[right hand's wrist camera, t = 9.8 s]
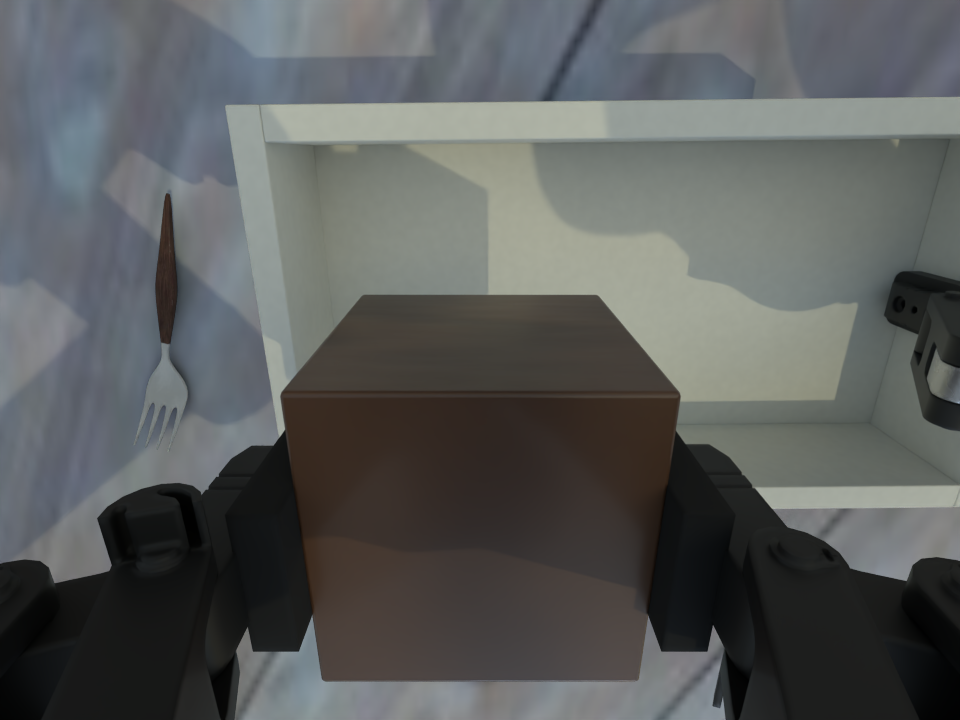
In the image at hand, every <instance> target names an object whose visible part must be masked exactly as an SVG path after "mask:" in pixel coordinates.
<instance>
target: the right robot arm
mask: <svg viewBox="0 0 960 720" xmlns="http://www.w3.org/2000/svg"><path fill="white" fill-rule="evenodd" d="M97 519H98V522H99V526H100V529H101V532H102V535H103V538H104V542H105V545H106V548H107V551H108V554H109V558H110V561H111V564H112V566H111V569H110V571H108V572H104V573H101V574H96V575H92V576H87V577H82V578H78V579H73V580H68V581H64V582H59V583H54V581H53V578H52V575H51V573H50V570H49V567H47V566H46V565H45V564H43V563H42V562H41V561H34V560H18V561H12V562H6V563H2V564H0V720H234V719H235V710H236V701H237V693H238V684H239V676H240V670H239V663H238V658H237V653H236V649H237V647H238V645H239V643H240V641H241V639H242V637H243V635H244V633H245V631H246V629H247V627H248V630H249V634H250V639H251V644H252V649H253V652H299V650H300V647H301V644H302V641H303V639H304V636H305V633H306V631H307V628H308V625H309V622H310V620H311V617H312V608H311V601H310V595H309V588H308V581H307V574H306V568H305V561H304V554H303V547H302V541H301V534H300V527H299V520H298V514H297V507H296V500H295V493H294V487H293V480H292V473H291V466H290V460H289V453H288V446H287V439H286V433H285V430H284V432H283V433H282V435H281V436H280V437H279V439H278V440H277V442H276V443H275V445H274V446H251V447H249V448H247V449H246V450H244V451H243V452H241V453H240V454H238V455H236V456H235V457H233V458H232V459H231V460H230V461H229V462H228V463H227V465H226V466H225V467H224V468H223V470H222V471H221V472H220V473H219V477H216V478H215V479H214V481H213V482H212V483H211V484H210V485H209V489H208V490H205V492H204V493H203V494H202V495H201V492H200V491H199V490H197V489H196V488H195V487H194V486H191V485H186V484H181V483H172V484H160V485H156V486H152V487H147V488H143V489H140V490H138V491H136V492H133V493H131V494H128V495H126V496H124V497H122V498H120V499H119V500H117V501H116V502H114V503H113V504H111V505H110V506H108V507H107V508H106V509H105V510H104V511H103V512H102V514H101V515H100V516H99V517H98V518H97ZM648 616H649V618H650V621H651V624H652V627H653V629H654V632H655V635H656V638H657V640H658V643H659V646H660V649H661V651H662V652H707V651H708V646H709V641H710V636H711V632H712V627H713V625H714V627H715V629H716V631H717V633H718V635H719V637H720V640H721V642H722V644H723V646H724V648H725V649H724V653H723V658H722V662H721V667H720V671H719V675H718V680H717V684H716V689H715V693H714V700H713V706H714V707H718V708H720V706H721V702H722V698H723V700H724V709H725V717H726V720H960V561H958V560H951V559H945V558H939V557H935V558H925V559H920V560H919V561H918V562H916V563H915V564H914V565H913V566H912V569H911V571H910V574H909V577H908V580H907V581H903V580H898V579H894V578H889V577H884V576H880V575H875V574H870V573H866V572H861V571H857V570H854V569H850V568H849V565H848V564H847V563H846V561H845V560H844V559H843V557H842V556H841V554H840V553H839V552H838V551H836V550H835V549H834V548H832V547H831V546H830V545H828V544H827V543H826V542H824V541H822V540H820V539H818V538H816V537H814V536H812V535H810V534H808V533H805V532H802V531H798V530H795V529H791V528H787V526H786V525H785V524H784V523H783V521H782V520H781V519H780V518H779V517H778V515H777V514H776V513H775V512H774V511H773V509H772V508H771V507H770V506H769V504H768V503H767V502H766V501H765V500H764V498H763V497H762V496H761V495H760V494H759V492H758V491H757V490H756V489H755V488H752V484H751V483H750V481H749V480H748V479H747V478H746V477H745V475H742V472H741V470H740V469H739V468H738V467H737V466H736V464H735V463H734V462H733V461H732V460H731V458H730V457H729V456H727V455H725V454H724V453H722V452H721V451H719V450H718V449H716V448H714V447H713V446H711V445H710V444H685V443H684V441H683V440H682V438H681V437H680V435H679V434H678V433H677V431H676V432H675V439H674V446H673V453H672V459H671V466H670V473H669V479H668V485H667V490H666V497H665V504H664V511H663V517H662V524H661V531H660V537H659V544H658V551H657V557H656V564H655V571H654V578H653V584H652V591H651V598H650V604H649V611H648Z"/></svg>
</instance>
